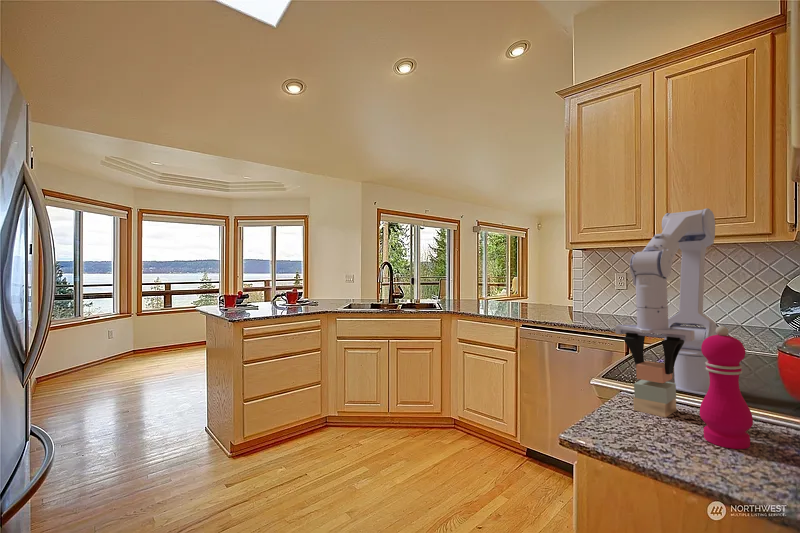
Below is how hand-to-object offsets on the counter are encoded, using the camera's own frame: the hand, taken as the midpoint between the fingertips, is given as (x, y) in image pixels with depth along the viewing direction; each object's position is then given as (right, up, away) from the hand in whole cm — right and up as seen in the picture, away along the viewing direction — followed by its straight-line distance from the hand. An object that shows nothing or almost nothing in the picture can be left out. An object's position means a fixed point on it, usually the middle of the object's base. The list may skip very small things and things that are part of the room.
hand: (654, 370), depth 86 cm
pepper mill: (+2, -8, -16) cm, 18 cm away
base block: (0, -9, 0) cm, 9 cm away
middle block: (0, -6, 0) cm, 6 cm away
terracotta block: (0, -2, 0) cm, 2 cm away
